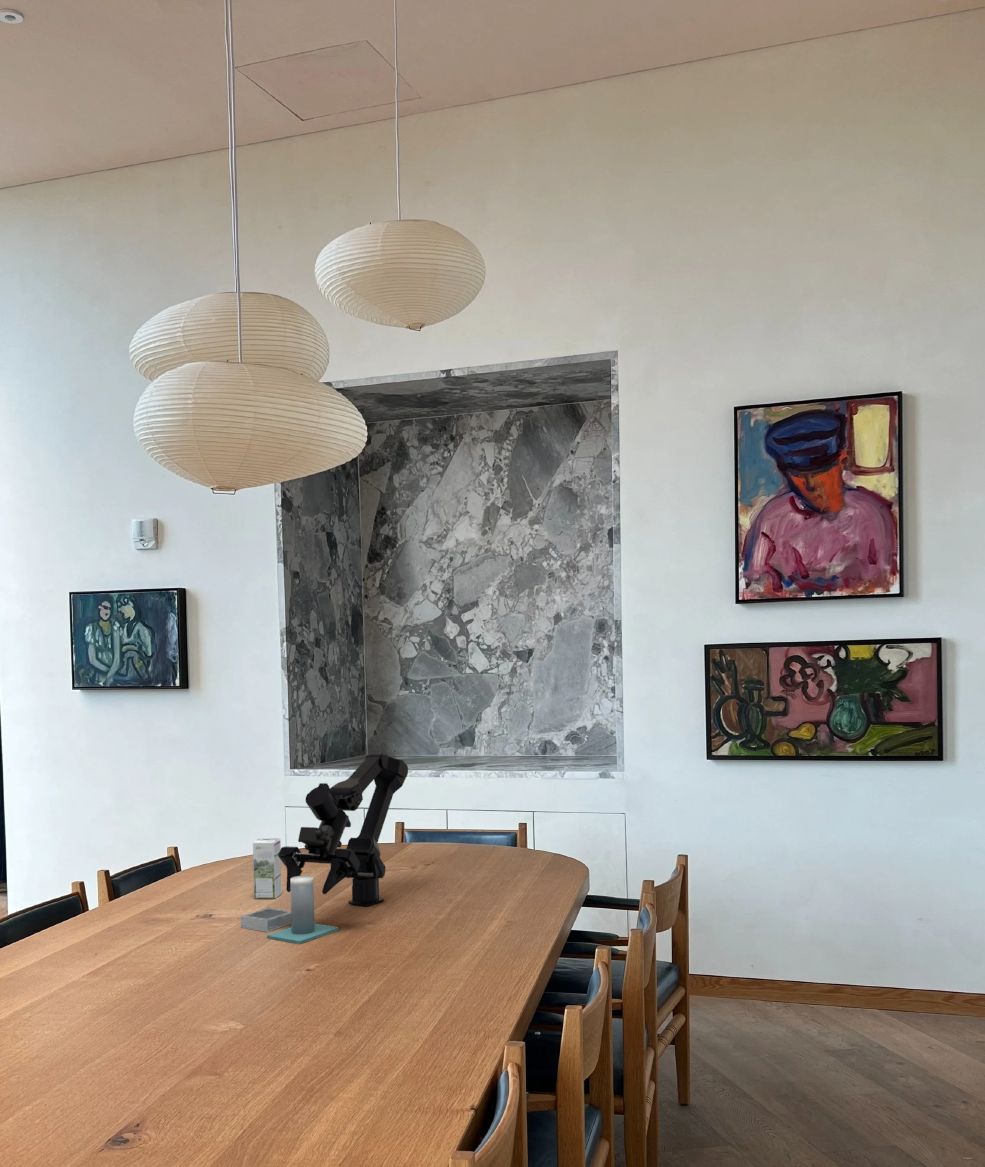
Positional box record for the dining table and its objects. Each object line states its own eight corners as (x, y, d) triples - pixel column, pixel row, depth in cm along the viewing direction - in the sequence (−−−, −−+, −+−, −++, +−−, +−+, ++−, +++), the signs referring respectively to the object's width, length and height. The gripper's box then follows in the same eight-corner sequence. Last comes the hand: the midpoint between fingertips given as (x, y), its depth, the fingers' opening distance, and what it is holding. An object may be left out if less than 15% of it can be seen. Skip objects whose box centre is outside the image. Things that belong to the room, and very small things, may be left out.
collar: (268, 918, 233) (268, 907, 233) (295, 922, 228) (294, 911, 229) (240, 927, 226) (240, 916, 226) (267, 931, 221) (267, 920, 221)
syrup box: (282, 893, 258) (281, 837, 259) (275, 899, 252) (273, 841, 253) (261, 894, 259) (259, 837, 260) (253, 899, 253) (252, 841, 254)
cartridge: (295, 928, 221) (294, 875, 222) (317, 927, 221) (316, 875, 222) (288, 934, 216) (287, 880, 217) (310, 934, 216) (309, 880, 217)
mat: (306, 924, 226) (305, 922, 226) (338, 930, 221) (338, 927, 221) (266, 938, 216) (266, 935, 216) (300, 944, 211) (300, 941, 211)
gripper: (281, 811, 230) (254, 870, 219) (352, 812, 223) (327, 873, 212) (300, 839, 237) (275, 897, 226) (370, 841, 230) (347, 902, 219)
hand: (305, 892), depth 220 cm, fingers open, 9 cm apart
